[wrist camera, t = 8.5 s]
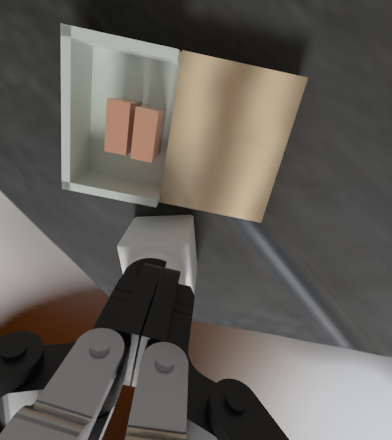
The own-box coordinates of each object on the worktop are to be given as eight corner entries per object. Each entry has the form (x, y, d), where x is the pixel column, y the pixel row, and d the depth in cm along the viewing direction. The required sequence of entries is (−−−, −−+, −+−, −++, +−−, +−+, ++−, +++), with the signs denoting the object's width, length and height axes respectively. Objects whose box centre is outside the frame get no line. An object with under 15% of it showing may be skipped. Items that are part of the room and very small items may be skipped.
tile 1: (158, 111, 24) (135, 106, 24) (151, 162, 26) (130, 158, 26) (166, 108, 28) (146, 104, 28) (160, 153, 30) (141, 149, 30)
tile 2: (130, 103, 24) (106, 98, 24) (125, 155, 25) (103, 151, 25) (142, 101, 28) (122, 97, 28) (137, 147, 30) (119, 143, 29)
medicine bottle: (142, 266, 36) (112, 340, 25) (134, 215, 33) (96, 274, 22) (197, 264, 36) (190, 339, 25) (193, 213, 33) (184, 272, 22)
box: (184, 57, 26) (179, 49, 22) (164, 191, 32) (155, 207, 27) (87, 35, 26) (60, 23, 21) (83, 175, 32) (61, 188, 27)
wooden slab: (298, 79, 27) (308, 77, 24) (257, 211, 32) (261, 222, 30) (185, 54, 26) (182, 50, 24) (163, 193, 32) (159, 202, 29)
